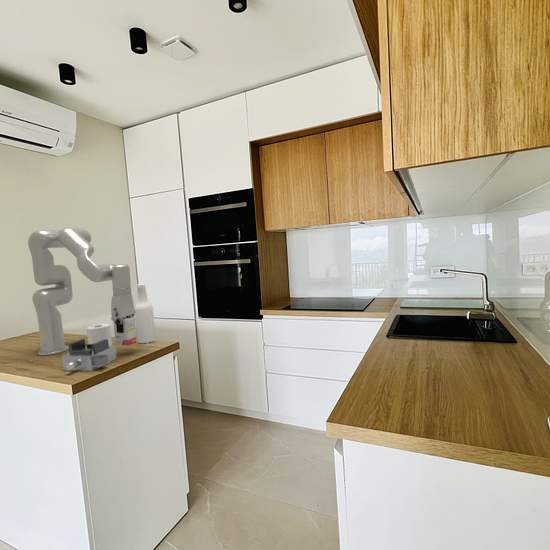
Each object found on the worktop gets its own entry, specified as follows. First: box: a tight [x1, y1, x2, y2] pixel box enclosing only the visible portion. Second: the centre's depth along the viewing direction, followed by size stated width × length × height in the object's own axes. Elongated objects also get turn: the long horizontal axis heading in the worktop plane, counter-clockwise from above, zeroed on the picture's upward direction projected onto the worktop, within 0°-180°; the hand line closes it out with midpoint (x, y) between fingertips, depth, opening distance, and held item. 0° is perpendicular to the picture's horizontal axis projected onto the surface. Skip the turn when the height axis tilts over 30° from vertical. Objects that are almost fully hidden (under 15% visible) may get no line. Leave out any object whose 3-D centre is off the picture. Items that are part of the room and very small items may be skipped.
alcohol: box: [134, 283, 157, 344], centre depth 168 cm, size 9×9×30 cm
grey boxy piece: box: [61, 338, 118, 372], centre depth 136 cm, size 18×18×10 cm
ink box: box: [112, 317, 137, 346], centre depth 149 cm, size 9×5×12 cm, turn 66°
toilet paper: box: [86, 323, 113, 346], centre depth 158 cm, size 10×10×12 cm
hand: (124, 330), depth 149 cm, fingers closed on ink box, 5 cm apart
